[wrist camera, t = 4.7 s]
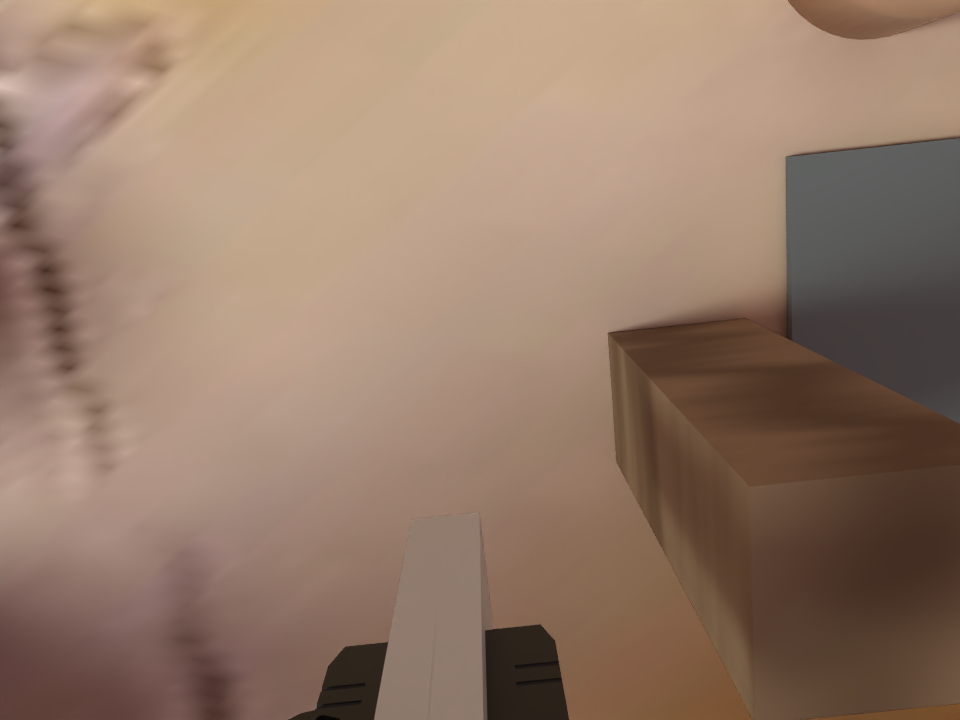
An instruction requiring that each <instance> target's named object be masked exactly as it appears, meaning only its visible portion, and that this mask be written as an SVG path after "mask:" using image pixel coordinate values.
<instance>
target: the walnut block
mask: <svg viewBox="0 0 960 720" xmlns="http://www.w3.org/2000/svg"><path fill="white" fill-rule="evenodd" d="M608 340H609V355H610V370H611V385H612V400H613V415H614V429H615V444H616V459H617V464H618V466H619V467H620V469H621V471H622V473H623V475H624V477H625V479H626V481H627V483H628V484H629V486H630V488H631V490H632V492H633V494H634V496H635V498H636V500H637V502H638V503H639V505H640V507H641V509H642V511H643V513H644V515H645V517H646V519H647V520H648V522H649V524H650V526H651V528H652V530H653V532H654V534H655V536H656V538H657V539H658V541H659V543H660V545H661V547H662V549H663V551H664V553H665V555H666V556H667V558H668V560H669V562H670V564H671V566H672V568H673V570H674V572H675V574H676V575H677V577H678V579H679V581H680V583H681V585H682V587H683V589H684V591H685V592H686V594H687V596H688V598H689V600H690V602H691V604H692V606H693V608H694V610H695V611H696V613H697V615H698V617H699V619H700V621H701V623H702V625H703V627H704V628H705V630H706V632H707V634H708V636H709V638H710V640H711V642H712V644H713V646H714V647H715V649H716V651H717V653H718V655H719V657H720V659H721V661H722V663H723V664H724V666H725V668H726V670H727V672H728V674H729V676H730V678H731V680H732V682H733V683H734V685H735V687H736V689H737V691H738V693H739V695H740V697H741V699H742V700H743V702H744V704H745V706H746V708H747V710H748V712H749V714H750V716H751V718H752V719H753V720H803V719H813V718H823V717H833V716H843V715H853V714H863V713H872V712H882V711H892V710H902V709H912V708H922V707H932V706H942V705H951V704H960V424H959V423H957V422H955V421H953V420H951V419H949V418H947V417H945V416H943V415H941V414H939V413H937V412H935V411H933V410H931V409H929V408H927V407H925V406H923V405H921V404H919V403H917V402H915V401H913V400H911V399H909V398H907V397H905V396H903V395H900V394H898V393H896V392H894V391H892V390H890V389H888V388H886V387H884V386H882V385H880V384H878V383H876V382H874V381H872V380H870V379H868V378H866V377H864V376H862V375H860V374H858V373H856V372H854V371H852V370H850V369H848V368H846V367H844V366H842V365H840V364H838V363H836V362H834V361H831V360H829V359H827V358H825V357H823V356H821V355H819V354H817V353H815V352H813V351H811V350H809V349H807V348H805V347H803V346H801V345H799V344H797V343H795V342H793V341H791V340H789V339H787V338H785V337H783V336H781V335H779V334H777V333H775V332H773V331H771V330H769V329H767V328H764V327H762V326H760V325H758V324H756V323H754V322H752V321H750V320H748V319H746V318H744V319H735V320H725V321H716V322H707V323H697V324H688V325H679V326H669V327H660V328H650V329H641V330H632V331H622V332H613V333H608Z"/></svg>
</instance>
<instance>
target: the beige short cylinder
mask: <svg viewBox="0 0 960 720" xmlns="http://www.w3.org/2000/svg"><path fill="white" fill-rule="evenodd" d="M788 1H789V3H790V4H791V5H792V6H793V7H794V9H795V10H796V11H797V12H798V13H799V14H800V15H801V16H802V17H804V18H805V19H806V20H807V21H808V22H810V23H811V24H813V25H814V26H816V27H818V28H819V29H821V30H823V31H826V32H828V33H830V34H833V35H836V36H840V37H844V38H849V39H859V40H863V39H877V38H883V37H888V36H891V35H894V34H897V33H900V32H903V31H906V30H909V29H912V28H915V27H918V26H921V25H923V24H926V23H929V22H932V21H935V20H938V19H941V18H943V17H946V16H949V15H952V14H955V13H958V12H960V0H788Z"/></svg>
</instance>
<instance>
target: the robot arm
mask: <svg viewBox="0 0 960 720" xmlns="http://www.w3.org/2000/svg"><path fill="white" fill-rule="evenodd" d="M289 720H569V717H568V712H567V706H566V700H565V695H564V689H563V684H562V678H561V672H560V667H559V661H558V655H557V650H556V644H555V640H554V639H553V638H552V637H551V636H550V635H549V634H548V633H547V631H546V630H545V629H544V628H543V627H542V626H541V625H531V626H521V627H512V628H502V629H493V622H492V613H491V605H490V596H489V588H488V580H487V571H486V563H485V555H484V546H483V538H482V529H481V521H480V513H479V512H476V513H466V514H457V515H447V516H438V517H428V518H419V519H411V521H410V527H409V532H408V538H407V543H406V548H405V554H404V559H403V565H402V570H401V576H400V581H399V586H398V592H397V597H396V603H395V608H394V614H393V619H392V625H391V630H390V635H389V641H388V642H386V643H376V644H367V645H357V646H347V647H345V648H344V649H343V650H342V651H341V652H340V653H339V654H338V656H337V657H336V658H335V659H334V660H333V661H332V663H331V664H330V665H329V666H328V669H327V672H326V676H325V679H324V682H323V686H322V691H321V693H320V696H319V699H318V703H317V709H315V710H314V711H310V712H305V713H301V714H299V715H297V716H295V717H293V718H291V719H289Z"/></svg>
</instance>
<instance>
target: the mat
mask: <svg viewBox="0 0 960 720" xmlns="http://www.w3.org/2000/svg"><path fill="white" fill-rule="evenodd" d="M786 223H787V320H788V339H789V340H791V341H793V342H795V343H797V344H799V345H801V346H803V347H805V348H807V349H809V350H811V351H813V352H815V353H817V354H819V355H821V356H823V357H825V358H827V359H829V360H831V361H834V362H836V363H838V364H840V365H842V366H844V367H846V368H848V369H850V370H852V371H854V372H856V373H858V374H860V375H862V376H864V377H866V378H868V379H870V380H872V381H874V382H876V383H878V384H880V385H882V386H884V387H886V388H888V389H890V390H892V391H894V392H896V393H898V394H900V395H903V396H905V397H907V398H909V399H911V400H913V401H915V402H917V403H919V404H921V405H923V406H925V407H927V408H929V409H931V410H933V411H935V412H937V413H939V414H941V415H943V416H945V417H947V418H949V419H951V420H953V421H955V422H957V423H959V424H960V138H955V139H946V140H937V141H928V142H919V143H910V144H900V145H891V146H882V147H873V148H864V149H855V150H845V151H836V152H827V153H818V154H809V155H800V156H790V157H786Z"/></svg>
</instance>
